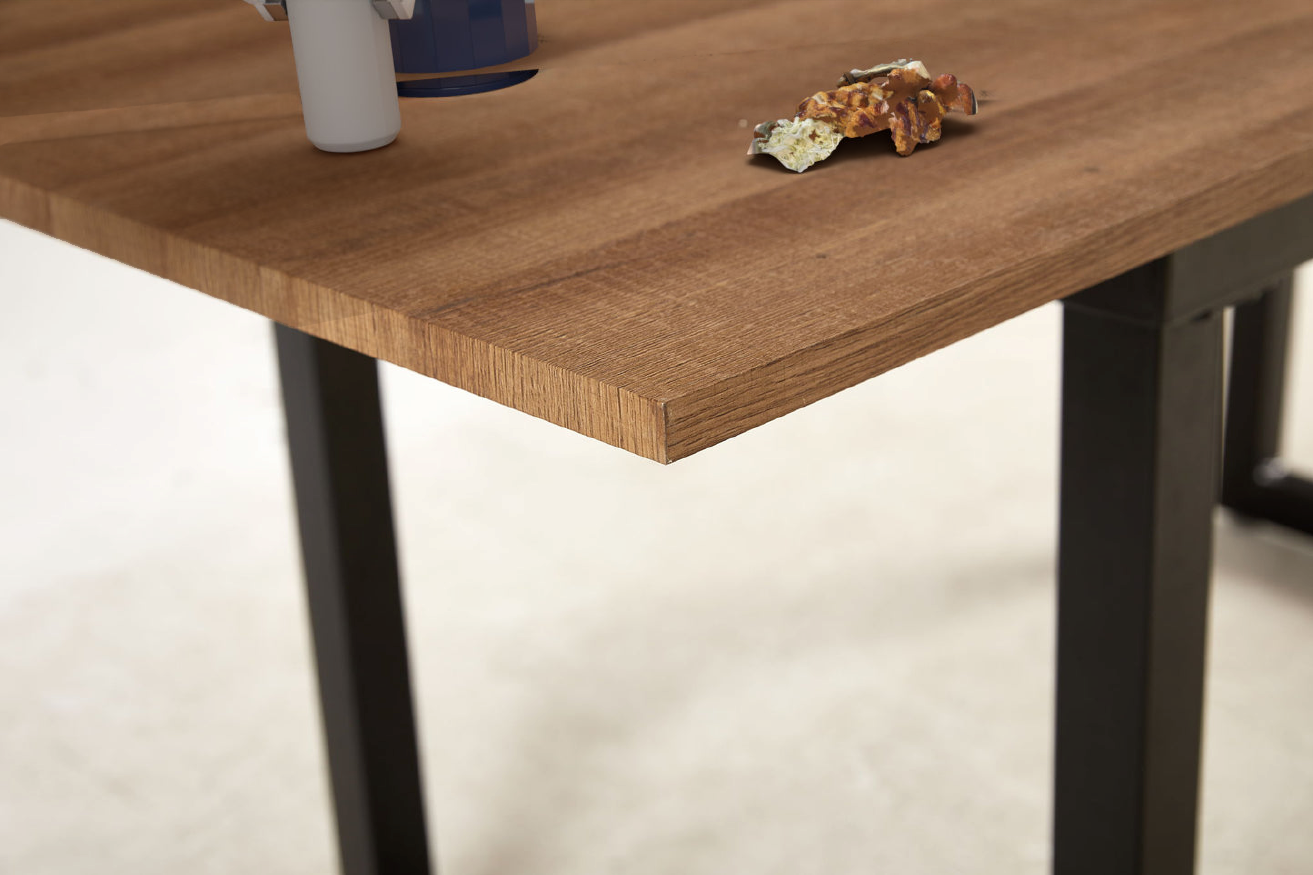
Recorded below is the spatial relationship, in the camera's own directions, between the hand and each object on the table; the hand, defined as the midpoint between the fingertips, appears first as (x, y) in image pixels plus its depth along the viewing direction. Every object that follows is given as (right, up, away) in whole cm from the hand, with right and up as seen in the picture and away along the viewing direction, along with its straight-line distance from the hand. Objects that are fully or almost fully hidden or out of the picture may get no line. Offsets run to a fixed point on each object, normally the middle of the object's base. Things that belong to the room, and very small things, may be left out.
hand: (341, 8), depth 78 cm
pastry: (+26, -7, -2) cm, 27 cm away
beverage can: (0, -6, +2) cm, 7 cm away
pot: (+4, 0, +15) cm, 16 cm away
